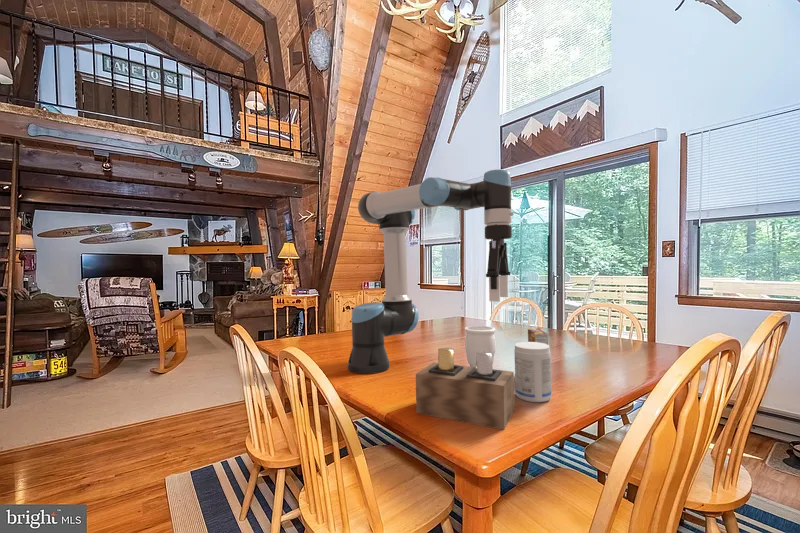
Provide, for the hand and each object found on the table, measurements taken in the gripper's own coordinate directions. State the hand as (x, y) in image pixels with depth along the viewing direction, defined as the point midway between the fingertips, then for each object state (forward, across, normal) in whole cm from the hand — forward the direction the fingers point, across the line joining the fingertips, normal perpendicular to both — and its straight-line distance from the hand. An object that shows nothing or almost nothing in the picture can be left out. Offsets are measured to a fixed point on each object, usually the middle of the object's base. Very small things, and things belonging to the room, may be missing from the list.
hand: (499, 299), depth 107 cm
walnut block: (+27, -16, +6) cm, 32 cm away
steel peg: (+22, -17, +1) cm, 28 cm away
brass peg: (+22, -16, +11) cm, 29 cm away
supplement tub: (+28, +1, -9) cm, 29 cm away
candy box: (+28, +21, -8) cm, 36 cm away
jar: (+28, +21, +11) cm, 36 cm away
